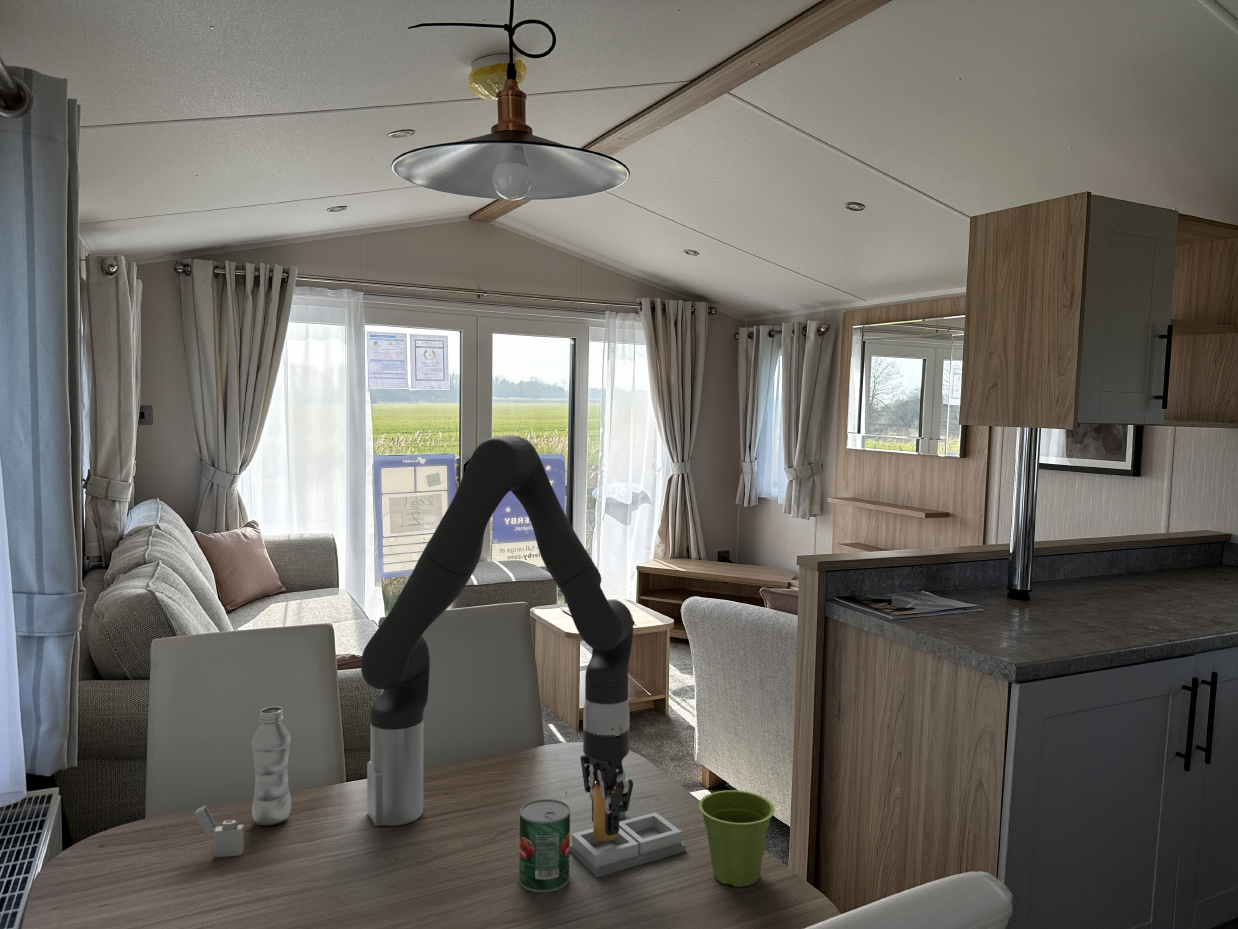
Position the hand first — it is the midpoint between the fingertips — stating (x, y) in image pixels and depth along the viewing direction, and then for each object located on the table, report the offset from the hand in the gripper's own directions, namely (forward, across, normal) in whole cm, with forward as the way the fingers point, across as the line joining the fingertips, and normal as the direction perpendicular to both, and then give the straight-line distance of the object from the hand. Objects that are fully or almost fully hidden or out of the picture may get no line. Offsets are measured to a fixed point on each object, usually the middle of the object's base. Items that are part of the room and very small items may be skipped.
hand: (605, 827), depth 136 cm
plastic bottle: (+5, -39, -46) cm, 60 cm away
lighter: (+5, -31, -55) cm, 63 cm away
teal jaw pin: (+5, -12, +9) cm, 16 cm away
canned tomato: (+5, +1, -12) cm, 13 cm away
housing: (+5, 0, +4) cm, 6 cm away
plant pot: (+5, +15, +15) cm, 22 cm away
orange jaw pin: (+1, 0, 0) cm, 1 cm away
